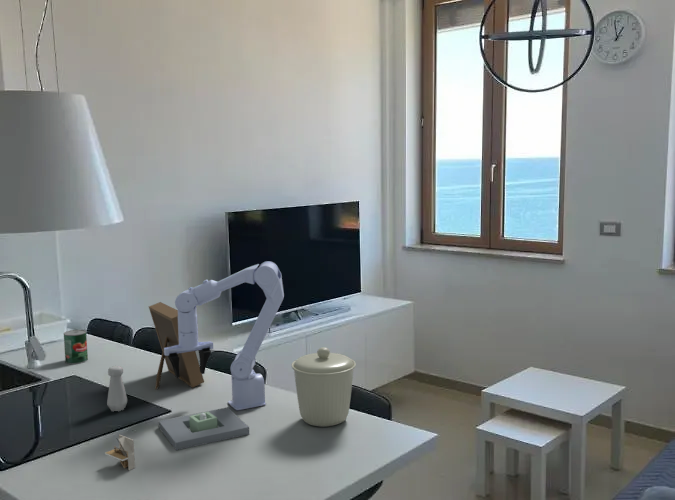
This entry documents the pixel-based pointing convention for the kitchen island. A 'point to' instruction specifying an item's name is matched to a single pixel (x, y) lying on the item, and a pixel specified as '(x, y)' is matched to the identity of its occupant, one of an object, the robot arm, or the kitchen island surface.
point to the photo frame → (168, 337)
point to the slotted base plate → (185, 438)
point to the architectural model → (124, 452)
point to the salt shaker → (116, 389)
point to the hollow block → (202, 422)
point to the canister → (323, 387)
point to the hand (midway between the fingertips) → (190, 375)
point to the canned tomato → (75, 346)
